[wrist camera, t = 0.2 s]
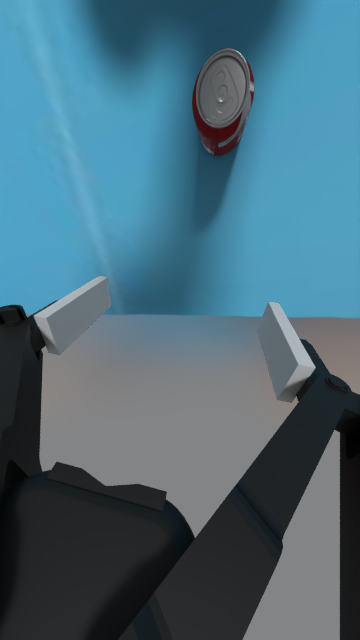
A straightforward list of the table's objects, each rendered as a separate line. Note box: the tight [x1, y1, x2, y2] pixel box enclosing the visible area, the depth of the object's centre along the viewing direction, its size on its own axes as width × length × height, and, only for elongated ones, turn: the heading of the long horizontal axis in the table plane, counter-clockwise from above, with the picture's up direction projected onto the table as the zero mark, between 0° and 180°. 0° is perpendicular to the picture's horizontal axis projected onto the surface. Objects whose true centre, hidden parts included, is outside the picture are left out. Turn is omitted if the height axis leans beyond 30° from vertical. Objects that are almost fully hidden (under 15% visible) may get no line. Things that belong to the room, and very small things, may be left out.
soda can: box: [192, 48, 254, 156], centre depth 24 cm, size 7×7×12 cm
